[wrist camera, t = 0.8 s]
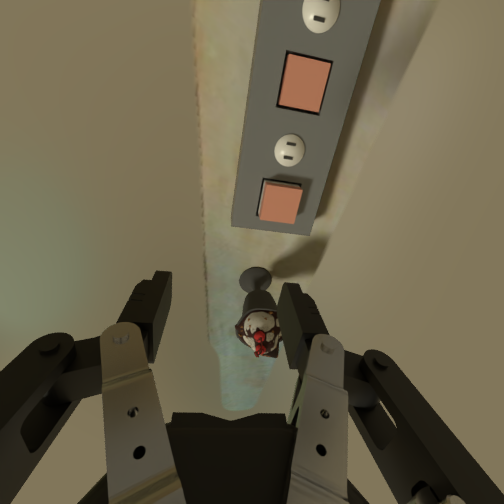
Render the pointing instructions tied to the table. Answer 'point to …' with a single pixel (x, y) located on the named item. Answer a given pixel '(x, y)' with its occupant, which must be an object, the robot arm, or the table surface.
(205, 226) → the table surface
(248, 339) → the sundae
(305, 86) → the switch
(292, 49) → the power strip
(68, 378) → the robot arm
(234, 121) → the table surface
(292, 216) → the switch
